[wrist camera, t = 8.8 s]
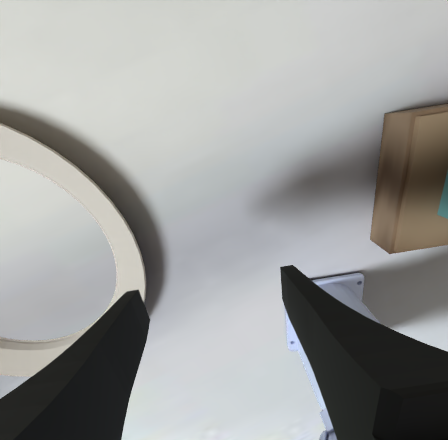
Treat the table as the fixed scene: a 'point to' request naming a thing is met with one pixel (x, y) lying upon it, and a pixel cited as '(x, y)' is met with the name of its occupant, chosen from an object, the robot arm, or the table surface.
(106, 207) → the plate
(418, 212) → the walnut plinth
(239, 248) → the table surface
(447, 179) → the teal cube
